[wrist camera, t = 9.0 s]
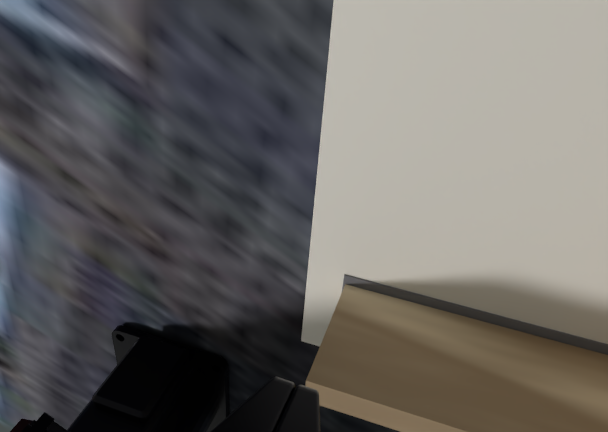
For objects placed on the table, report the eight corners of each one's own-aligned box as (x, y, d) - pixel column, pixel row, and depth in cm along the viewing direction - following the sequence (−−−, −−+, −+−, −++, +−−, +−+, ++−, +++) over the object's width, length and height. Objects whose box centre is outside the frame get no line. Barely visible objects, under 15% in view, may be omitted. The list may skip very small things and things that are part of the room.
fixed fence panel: (731, 415, 19) (803, 600, 14) (342, 306, 22) (294, 428, 17) (756, 386, 18) (842, 573, 13) (347, 276, 21) (297, 396, 16)
